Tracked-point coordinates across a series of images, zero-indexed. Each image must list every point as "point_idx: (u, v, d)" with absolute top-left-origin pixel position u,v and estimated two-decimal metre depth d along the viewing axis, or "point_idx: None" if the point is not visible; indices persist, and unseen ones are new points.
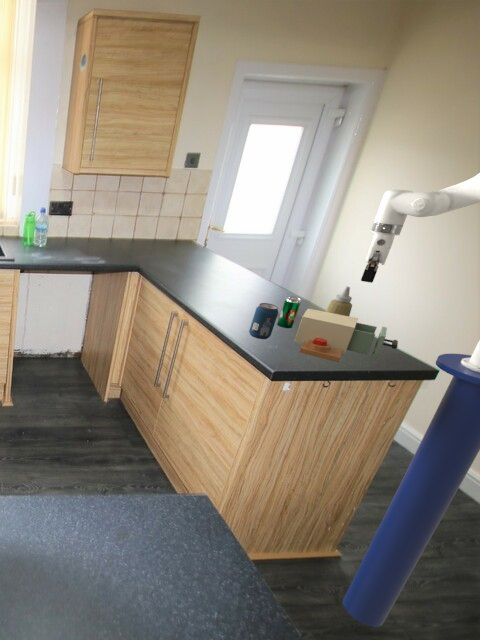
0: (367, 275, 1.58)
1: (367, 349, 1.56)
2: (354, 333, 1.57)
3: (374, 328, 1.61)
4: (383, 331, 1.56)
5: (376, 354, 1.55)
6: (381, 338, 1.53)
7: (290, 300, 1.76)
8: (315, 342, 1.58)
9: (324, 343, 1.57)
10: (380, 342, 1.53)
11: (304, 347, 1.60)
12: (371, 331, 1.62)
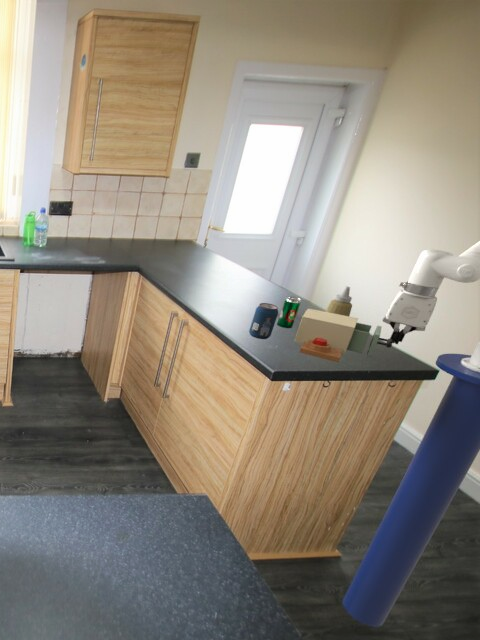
0: (391, 335, 1.55)
1: (362, 348, 1.57)
2: None
3: (369, 327, 1.62)
4: (378, 330, 1.57)
5: (371, 353, 1.55)
6: (376, 337, 1.53)
7: (290, 300, 1.76)
8: (315, 342, 1.58)
9: (324, 343, 1.57)
10: (375, 341, 1.54)
11: (304, 347, 1.60)
12: (366, 330, 1.62)
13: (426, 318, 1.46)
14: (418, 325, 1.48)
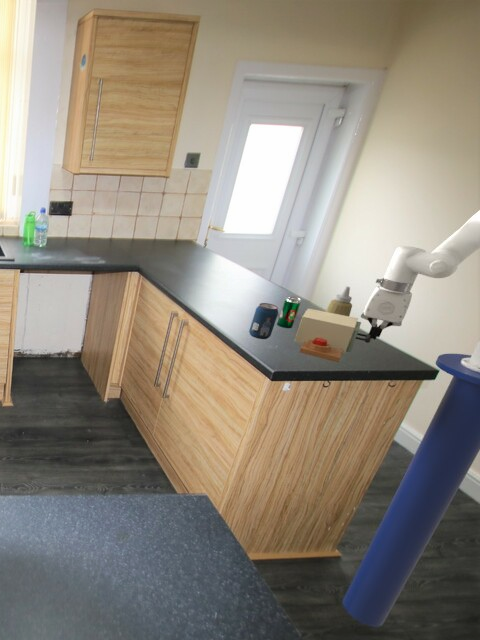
0: (370, 330, 1.59)
1: None
2: None
3: None
4: (357, 325, 1.60)
5: (350, 348, 1.59)
6: (354, 332, 1.57)
7: (290, 300, 1.76)
8: (315, 342, 1.58)
9: (324, 343, 1.57)
10: (353, 336, 1.57)
11: (304, 347, 1.60)
12: None
13: (402, 313, 1.50)
14: (394, 320, 1.52)
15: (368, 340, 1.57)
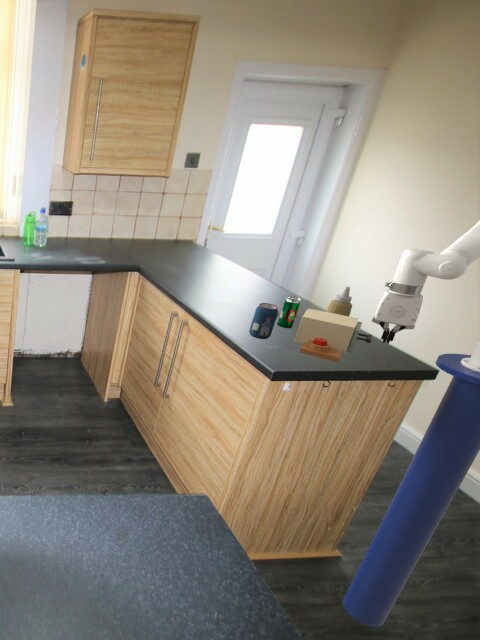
0: (382, 334, 1.57)
1: None
2: None
3: None
4: (358, 326, 1.60)
5: (351, 348, 1.59)
6: (355, 332, 1.57)
7: (290, 300, 1.76)
8: (315, 342, 1.58)
9: (324, 343, 1.57)
10: (354, 336, 1.57)
11: (304, 347, 1.60)
12: None
13: (414, 316, 1.48)
14: (407, 324, 1.50)
15: (369, 340, 1.57)
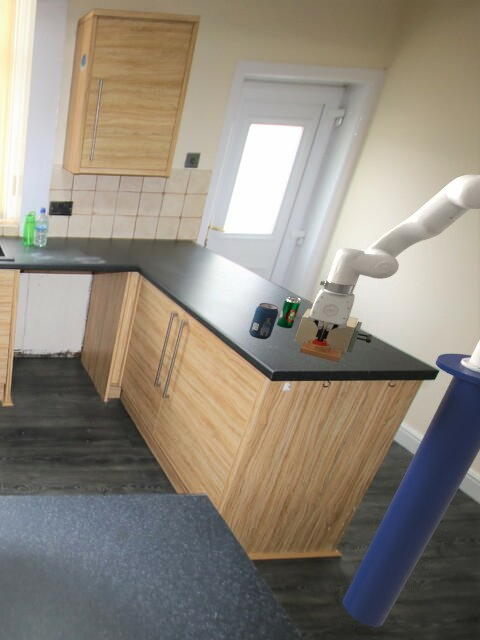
0: (317, 332, 1.59)
1: None
2: None
3: None
4: (358, 326, 1.60)
5: (351, 348, 1.59)
6: (355, 332, 1.57)
7: (290, 300, 1.76)
8: (315, 343, 1.59)
9: (324, 344, 1.57)
10: (354, 336, 1.57)
11: (304, 347, 1.60)
12: None
13: (345, 315, 1.50)
14: (339, 322, 1.51)
15: (369, 340, 1.57)
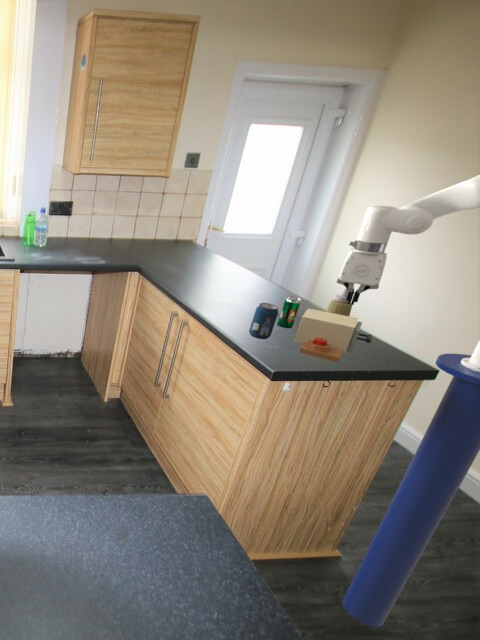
0: (347, 296, 1.53)
1: None
2: None
3: None
4: (358, 326, 1.60)
5: (351, 348, 1.59)
6: (355, 332, 1.57)
7: (290, 300, 1.76)
8: (315, 342, 1.58)
9: (324, 343, 1.57)
10: (354, 336, 1.57)
11: (304, 347, 1.60)
12: None
13: (378, 275, 1.45)
14: (371, 283, 1.46)
15: (369, 340, 1.57)
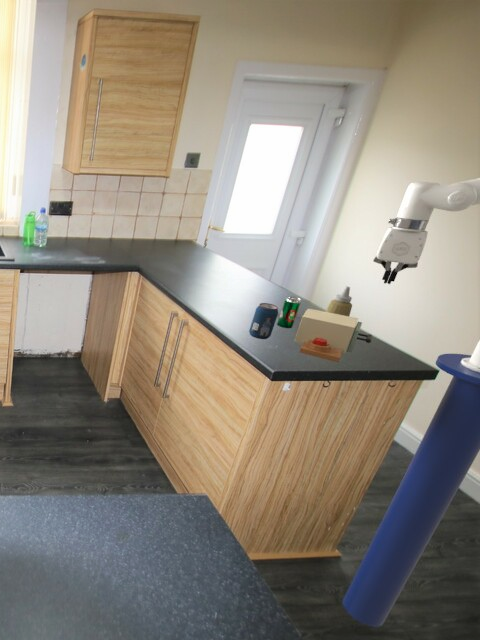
0: None
1: None
2: None
3: None
4: (358, 326, 1.60)
5: (351, 348, 1.59)
6: (355, 332, 1.57)
7: (290, 300, 1.76)
8: (315, 342, 1.58)
9: (324, 343, 1.57)
10: (354, 336, 1.57)
11: (304, 347, 1.60)
12: None
13: (417, 253, 1.42)
14: (410, 261, 1.44)
15: (369, 340, 1.57)
